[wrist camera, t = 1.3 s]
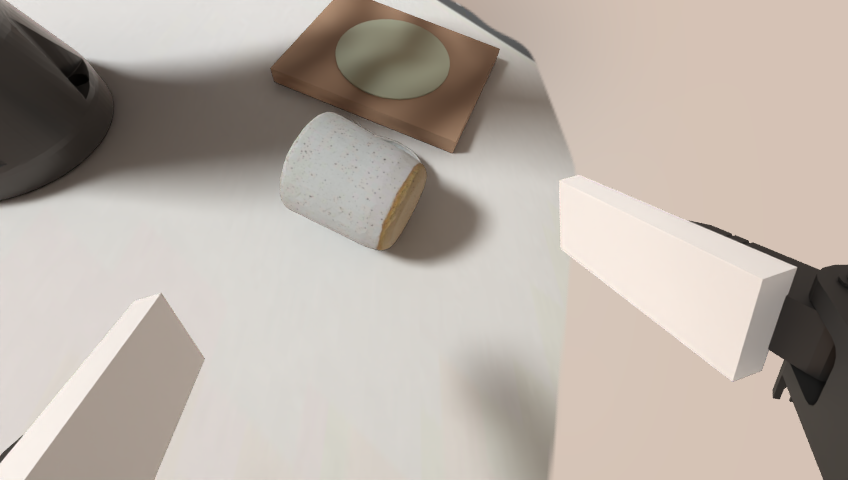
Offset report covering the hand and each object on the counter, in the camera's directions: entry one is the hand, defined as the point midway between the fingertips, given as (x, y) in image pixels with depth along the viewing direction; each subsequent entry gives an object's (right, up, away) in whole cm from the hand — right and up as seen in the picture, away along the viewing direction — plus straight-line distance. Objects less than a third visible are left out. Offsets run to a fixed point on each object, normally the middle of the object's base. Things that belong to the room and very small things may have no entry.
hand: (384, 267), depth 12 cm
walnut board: (-2, +18, +25) cm, 30 cm away
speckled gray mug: (-4, +4, +18) cm, 19 cm away
